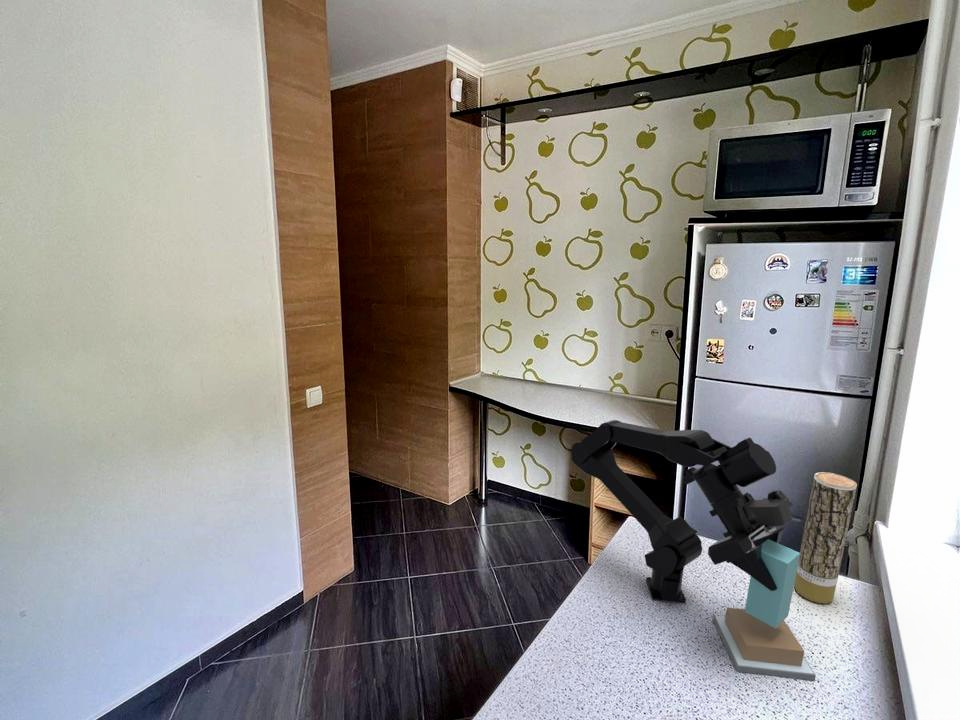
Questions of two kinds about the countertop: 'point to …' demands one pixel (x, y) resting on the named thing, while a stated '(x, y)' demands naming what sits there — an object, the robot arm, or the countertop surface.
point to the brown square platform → (762, 646)
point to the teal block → (783, 571)
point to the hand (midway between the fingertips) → (781, 583)
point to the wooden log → (824, 536)
